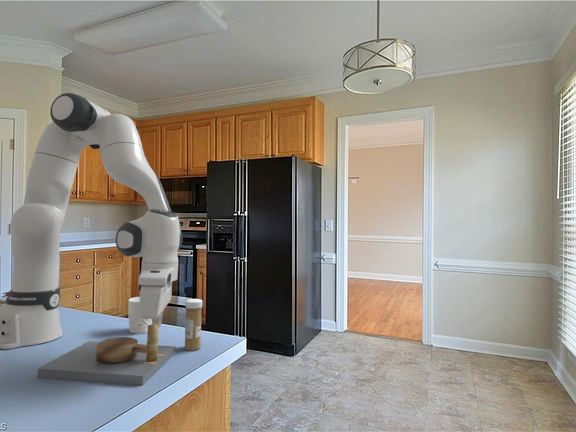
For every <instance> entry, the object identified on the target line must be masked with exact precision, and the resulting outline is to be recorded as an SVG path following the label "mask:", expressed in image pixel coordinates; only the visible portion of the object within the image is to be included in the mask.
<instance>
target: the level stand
mask: <svg viewBox="0 0 576 432" xmlns="http://www.w3.org/2000/svg"><path fill="white" fill-rule="evenodd" d="M99 342H100V341H93V340H89V341H87V342H85V343H83V344H81V345H79V346H77V347H76V348H73V349H72V350H70V351H68V352H66V353H64V354H63V355H61V356H58V357H56V358H55V359H53V360H51V361H49V362H48V363H46V364H44V365H41V366H40V367H39V368H37V374H36V375H37V379H47V378H48V379H47V380H49V379H50V380H61V379H63V380H64V381H78V382H93V383H103V384H104V383H107V384H118V385H120V384H121V385H133V386H144V385H145V384H146V383H147V382H148V381H149V380H150V379H151V378H152V377H153V376H154V375H155V374H156V373H157V372H158V371H159V370H160V369H161V368H162V367H163V366H164V365H165V364H166V363H167V362H169V360H170V359H171V358H172V357H174V356H175V354H176V346H172V345H158V348H157V359H156V360H154V361H147V360H146V356H147V353H139V352H137V355H136V356H135V357H134V358H132V359H130V360H127V361H123V362H117V363H103V362H99V361H97V360H96V350H97V344H98V343H99ZM138 344H139V345H145V343H144V344H142V343H138Z"/></svg>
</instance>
